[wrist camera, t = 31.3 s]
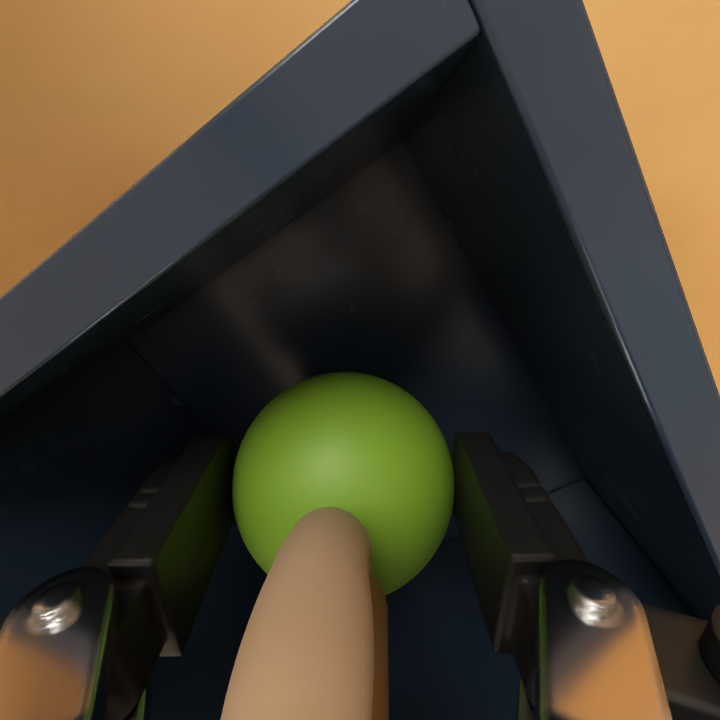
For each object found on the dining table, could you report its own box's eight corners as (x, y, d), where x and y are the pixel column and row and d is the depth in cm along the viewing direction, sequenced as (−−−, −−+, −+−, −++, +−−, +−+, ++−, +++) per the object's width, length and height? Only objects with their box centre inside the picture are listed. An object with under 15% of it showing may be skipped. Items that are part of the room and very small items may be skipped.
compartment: (105, 326, 14) (-249, 504, 6) (410, 97, 11) (534, -157, 3) (349, 584, 19) (339, 873, 11) (601, 467, 16) (840, 736, 8)
